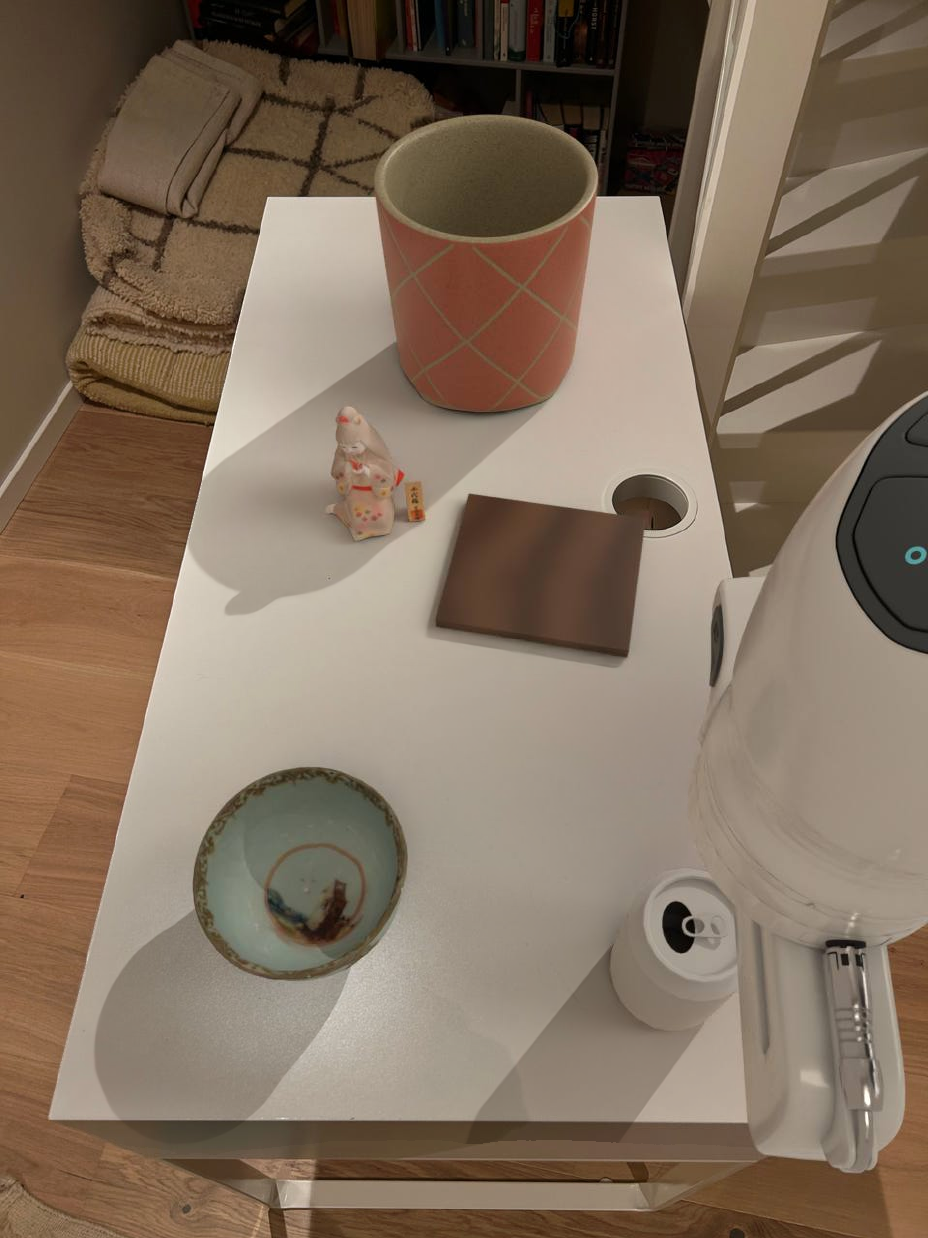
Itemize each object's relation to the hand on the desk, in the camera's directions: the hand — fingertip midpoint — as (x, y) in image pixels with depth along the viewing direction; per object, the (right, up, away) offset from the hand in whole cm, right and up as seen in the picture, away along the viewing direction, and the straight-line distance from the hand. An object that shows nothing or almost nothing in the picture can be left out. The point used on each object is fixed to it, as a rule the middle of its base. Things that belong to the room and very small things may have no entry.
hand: (751, 903), depth 42 cm
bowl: (-23, -7, +23) cm, 33 cm away
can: (0, -11, +20) cm, 23 cm away
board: (-6, +17, +38) cm, 42 cm away
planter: (-11, +40, +53) cm, 67 cm away
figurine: (-21, +22, +42) cm, 52 cm away
